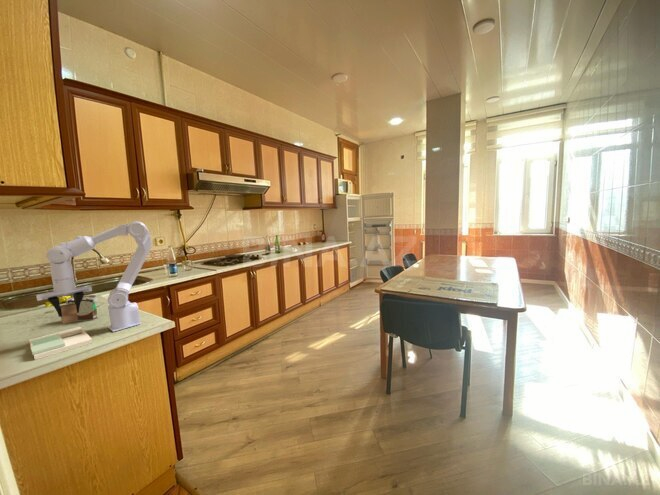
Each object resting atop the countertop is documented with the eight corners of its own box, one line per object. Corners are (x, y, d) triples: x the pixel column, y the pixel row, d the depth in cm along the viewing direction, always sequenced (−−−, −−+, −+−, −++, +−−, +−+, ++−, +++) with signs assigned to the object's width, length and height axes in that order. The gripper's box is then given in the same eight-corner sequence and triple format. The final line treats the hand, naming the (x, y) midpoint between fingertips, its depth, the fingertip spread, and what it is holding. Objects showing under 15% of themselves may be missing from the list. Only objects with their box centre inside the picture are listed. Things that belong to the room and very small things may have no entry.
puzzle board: (81, 329, 108) (80, 326, 108) (92, 342, 96) (91, 339, 96) (29, 343, 97) (28, 339, 97) (34, 360, 85) (34, 355, 85)
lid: (61, 339, 96) (60, 332, 95) (65, 345, 91) (64, 338, 91) (30, 348, 90) (29, 341, 89) (32, 354, 85) (31, 347, 85)
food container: (107, 314, 125) (104, 294, 124) (96, 319, 119) (93, 298, 118) (80, 316, 125) (77, 295, 124) (68, 321, 119) (65, 299, 118)
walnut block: (76, 318, 103) (73, 302, 103) (78, 320, 101) (75, 304, 100) (61, 321, 100) (59, 305, 100) (63, 323, 98) (60, 307, 97)
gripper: (87, 273, 107) (91, 306, 108) (33, 281, 95) (39, 318, 97) (91, 275, 102) (96, 309, 104) (35, 284, 91) (41, 322, 93)
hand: (69, 314), depth 100 cm, fingers closed on walnut block, 4 cm apart
